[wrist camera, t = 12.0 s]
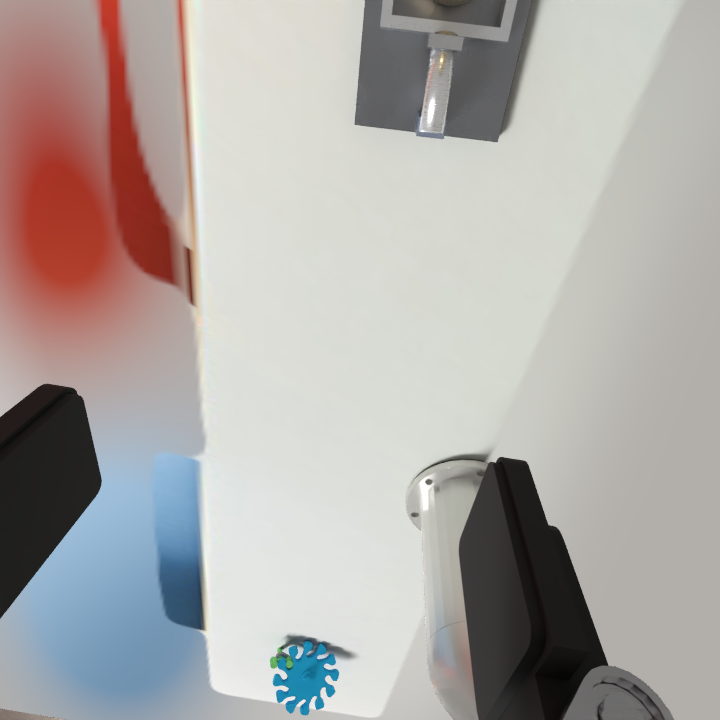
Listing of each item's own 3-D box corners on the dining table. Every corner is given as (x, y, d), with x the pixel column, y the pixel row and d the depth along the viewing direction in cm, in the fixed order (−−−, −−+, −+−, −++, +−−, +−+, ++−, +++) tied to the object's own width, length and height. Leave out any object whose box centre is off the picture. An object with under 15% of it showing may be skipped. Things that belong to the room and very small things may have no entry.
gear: (351, 664, 69) (316, 730, 67) (343, 646, 75) (310, 707, 72) (292, 628, 68) (253, 695, 65) (288, 613, 74) (252, 674, 71)
